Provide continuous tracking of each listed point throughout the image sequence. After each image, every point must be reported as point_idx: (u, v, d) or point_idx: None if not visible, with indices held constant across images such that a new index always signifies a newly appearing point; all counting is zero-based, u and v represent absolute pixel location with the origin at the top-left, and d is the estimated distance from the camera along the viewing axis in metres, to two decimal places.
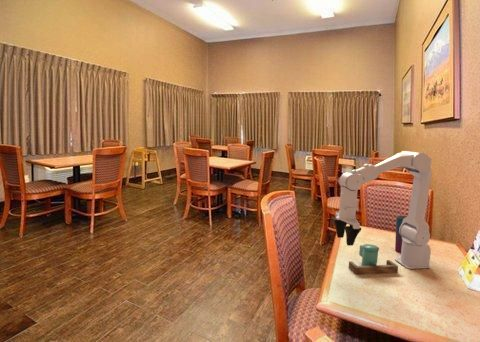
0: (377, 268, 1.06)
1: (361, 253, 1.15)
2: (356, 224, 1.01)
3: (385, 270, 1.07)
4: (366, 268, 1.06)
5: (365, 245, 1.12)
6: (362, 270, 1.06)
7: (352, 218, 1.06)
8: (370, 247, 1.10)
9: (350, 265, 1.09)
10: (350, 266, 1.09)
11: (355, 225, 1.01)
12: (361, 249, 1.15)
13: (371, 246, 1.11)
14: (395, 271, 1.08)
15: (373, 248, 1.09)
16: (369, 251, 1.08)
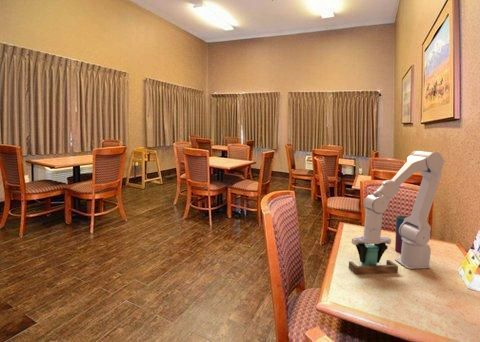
0: (377, 268, 1.06)
1: None
2: (353, 239, 1.09)
3: (385, 270, 1.07)
4: (366, 268, 1.06)
5: None
6: (362, 270, 1.06)
7: (365, 238, 1.09)
8: (370, 247, 1.10)
9: (350, 265, 1.09)
10: (350, 266, 1.09)
11: (352, 240, 1.10)
12: None
13: (371, 246, 1.11)
14: (395, 271, 1.08)
15: (373, 248, 1.09)
16: (369, 251, 1.08)
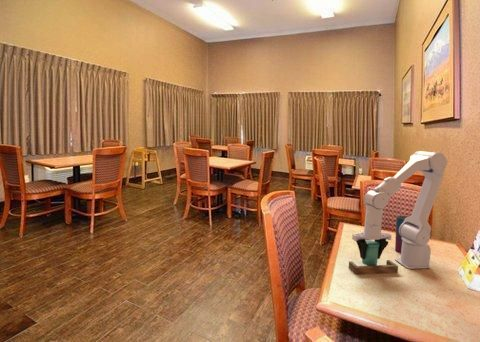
0: (377, 268, 1.06)
1: None
2: (353, 235, 1.09)
3: (385, 270, 1.07)
4: (366, 268, 1.06)
5: None
6: (362, 270, 1.06)
7: (366, 234, 1.09)
8: (370, 243, 1.10)
9: (350, 265, 1.09)
10: (350, 266, 1.09)
11: (352, 236, 1.09)
12: None
13: (371, 242, 1.11)
14: (395, 271, 1.08)
15: (373, 244, 1.09)
16: (369, 247, 1.08)
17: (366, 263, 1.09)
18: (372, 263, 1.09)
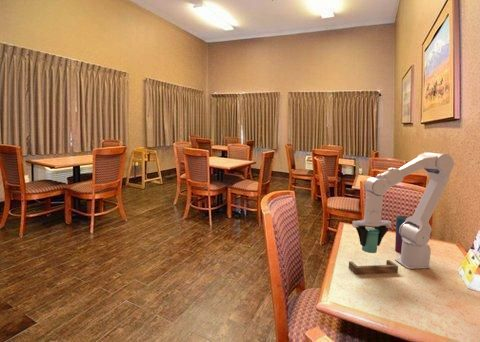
0: (377, 268, 1.06)
1: None
2: (353, 222, 1.09)
3: (385, 270, 1.07)
4: (366, 268, 1.06)
5: None
6: (362, 270, 1.06)
7: (366, 221, 1.09)
8: (370, 230, 1.10)
9: (350, 265, 1.09)
10: (350, 266, 1.09)
11: (352, 223, 1.09)
12: None
13: (371, 229, 1.11)
14: (395, 271, 1.08)
15: (373, 231, 1.09)
16: (369, 234, 1.08)
17: (366, 250, 1.10)
18: (372, 250, 1.09)
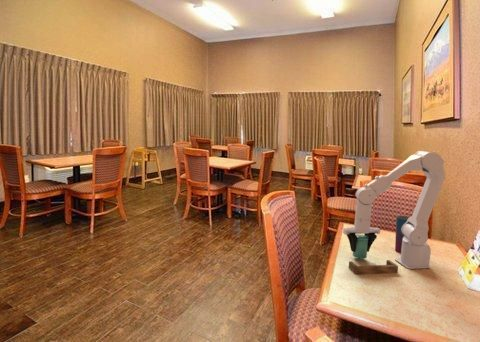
0: (377, 268, 1.06)
1: None
2: (344, 229, 1.16)
3: (385, 270, 1.07)
4: (366, 268, 1.06)
5: (356, 235, 1.18)
6: (362, 270, 1.06)
7: (356, 228, 1.15)
8: (360, 237, 1.17)
9: (350, 265, 1.09)
10: (350, 266, 1.09)
11: (343, 230, 1.16)
12: None
13: (361, 236, 1.18)
14: (395, 271, 1.08)
15: (363, 237, 1.16)
16: (359, 240, 1.15)
17: (356, 256, 1.16)
18: (362, 256, 1.15)
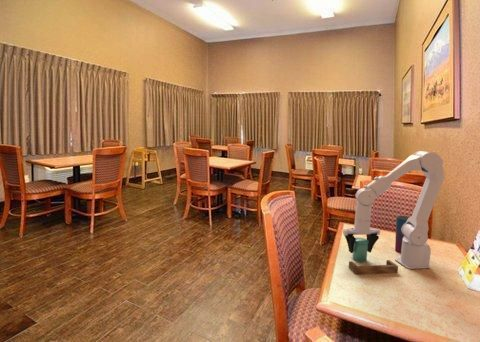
0: (377, 268, 1.06)
1: None
2: (344, 230, 1.16)
3: (385, 270, 1.07)
4: (366, 268, 1.06)
5: (356, 238, 1.18)
6: (362, 270, 1.06)
7: (356, 229, 1.16)
8: (360, 240, 1.16)
9: (350, 265, 1.09)
10: (350, 266, 1.09)
11: (343, 231, 1.16)
12: None
13: (361, 239, 1.17)
14: (395, 271, 1.08)
15: (363, 241, 1.16)
16: (359, 244, 1.15)
17: (356, 259, 1.16)
18: (362, 259, 1.15)
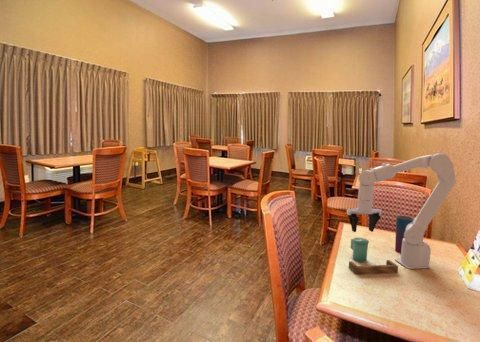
0: (377, 268, 1.06)
1: (352, 246, 1.21)
2: (347, 210, 1.21)
3: (385, 270, 1.07)
4: (366, 268, 1.06)
5: (356, 238, 1.18)
6: (362, 270, 1.06)
7: (359, 209, 1.21)
8: (360, 240, 1.16)
9: (350, 265, 1.09)
10: (350, 266, 1.09)
11: (347, 211, 1.22)
12: (352, 242, 1.21)
13: (361, 239, 1.17)
14: (395, 271, 1.08)
15: (363, 241, 1.16)
16: (359, 244, 1.15)
17: (356, 259, 1.16)
18: (362, 259, 1.15)
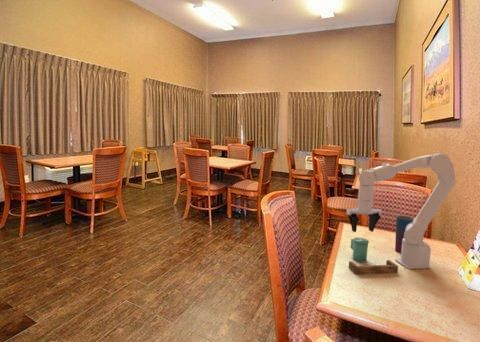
0: (377, 268, 1.06)
1: (352, 246, 1.21)
2: (347, 210, 1.21)
3: (385, 270, 1.07)
4: (366, 268, 1.06)
5: (356, 238, 1.18)
6: (362, 270, 1.06)
7: (359, 209, 1.21)
8: (360, 240, 1.16)
9: (350, 265, 1.09)
10: (350, 266, 1.09)
11: (347, 211, 1.22)
12: (352, 242, 1.21)
13: (361, 239, 1.17)
14: (395, 271, 1.08)
15: (363, 241, 1.16)
16: (359, 244, 1.15)
17: (356, 259, 1.16)
18: (362, 259, 1.15)
